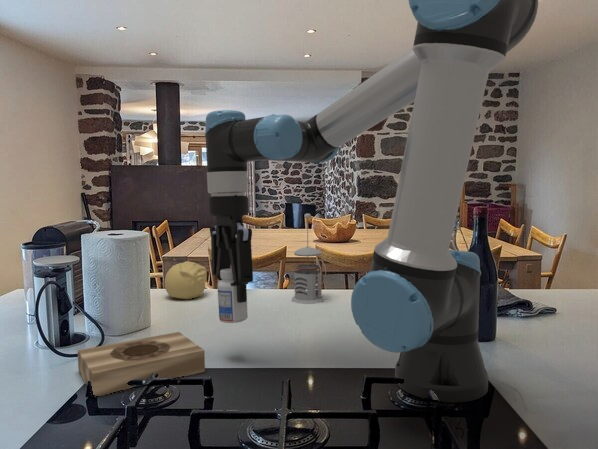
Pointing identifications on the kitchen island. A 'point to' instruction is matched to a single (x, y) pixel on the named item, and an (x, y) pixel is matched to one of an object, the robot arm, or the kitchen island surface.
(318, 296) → the french press
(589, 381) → the kitchen island surface
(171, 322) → the kitchen island surface
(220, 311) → the pill bottle
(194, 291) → the sculpture
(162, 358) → the board
